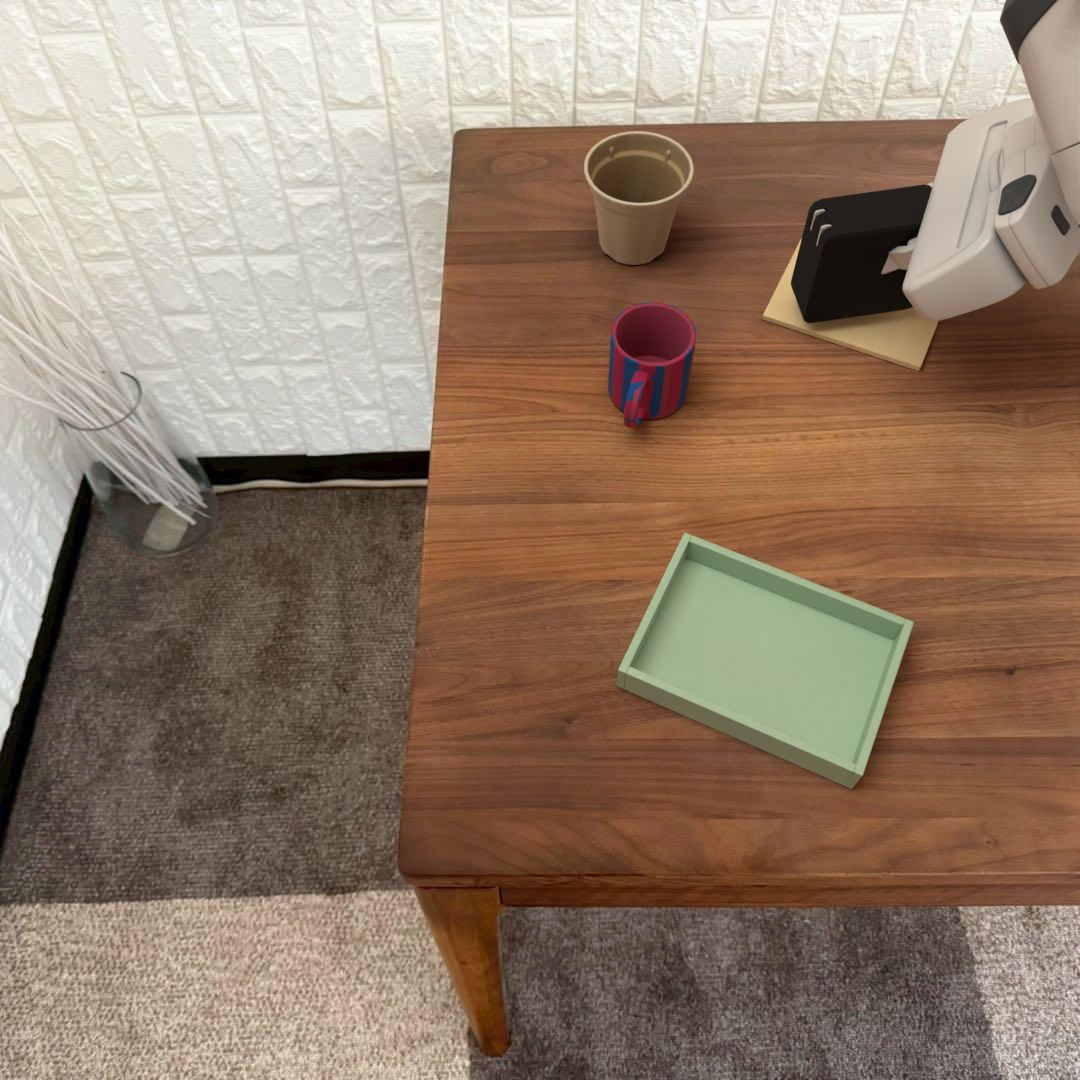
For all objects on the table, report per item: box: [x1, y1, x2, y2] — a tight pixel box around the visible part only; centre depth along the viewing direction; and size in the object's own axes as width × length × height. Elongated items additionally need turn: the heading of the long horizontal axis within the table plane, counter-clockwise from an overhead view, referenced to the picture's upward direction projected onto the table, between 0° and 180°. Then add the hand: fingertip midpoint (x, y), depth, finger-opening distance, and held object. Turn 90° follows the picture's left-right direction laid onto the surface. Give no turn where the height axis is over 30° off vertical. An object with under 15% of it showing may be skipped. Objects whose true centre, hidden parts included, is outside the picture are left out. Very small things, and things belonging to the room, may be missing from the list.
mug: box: [607, 301, 697, 429], centre depth 82 cm, size 7×10×7 cm
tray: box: [615, 532, 915, 790], centre depth 71 cm, size 17×12×3 cm
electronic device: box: [791, 184, 932, 323], centre depth 83 cm, size 4×10×10 cm, turn 99°
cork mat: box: [761, 237, 939, 372], centre depth 90 cm, size 14×12×1 cm
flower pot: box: [583, 130, 695, 266], centre depth 90 cm, size 9×9×9 cm
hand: (882, 243), depth 83 cm, fingers closed on electronic device, 3 cm apart
